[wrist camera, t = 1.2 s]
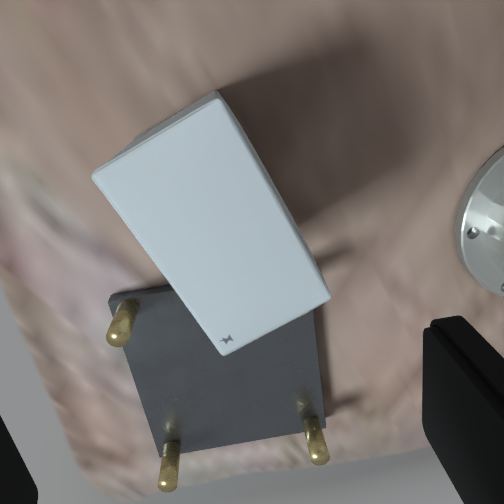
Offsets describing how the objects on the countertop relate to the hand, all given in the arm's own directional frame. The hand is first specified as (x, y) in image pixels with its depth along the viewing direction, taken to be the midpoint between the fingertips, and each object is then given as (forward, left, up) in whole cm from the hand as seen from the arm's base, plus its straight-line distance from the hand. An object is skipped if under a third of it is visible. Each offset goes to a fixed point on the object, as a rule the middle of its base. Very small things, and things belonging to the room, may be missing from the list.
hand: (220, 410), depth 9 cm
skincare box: (0, 0, -20) cm, 21 cm away
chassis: (+2, +14, -20) cm, 25 cm away
